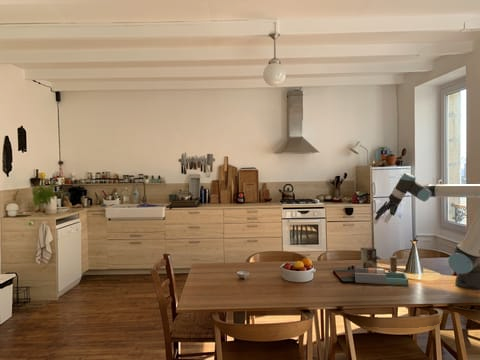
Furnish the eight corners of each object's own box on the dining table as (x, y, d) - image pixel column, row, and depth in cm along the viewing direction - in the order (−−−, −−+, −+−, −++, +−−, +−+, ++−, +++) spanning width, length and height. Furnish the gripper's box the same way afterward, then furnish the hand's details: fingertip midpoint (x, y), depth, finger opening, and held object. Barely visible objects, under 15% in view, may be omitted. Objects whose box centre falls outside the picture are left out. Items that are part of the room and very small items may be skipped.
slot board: (384, 277, 231) (384, 269, 231) (386, 284, 217) (386, 275, 217) (355, 276, 236) (354, 267, 236) (355, 282, 223) (355, 273, 223)
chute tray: (405, 278, 227) (405, 273, 227) (408, 285, 214) (408, 279, 214) (384, 277, 231) (384, 272, 231) (386, 284, 217) (386, 278, 217)
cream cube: (383, 275, 226) (383, 268, 226) (384, 276, 222) (383, 270, 222) (376, 274, 227) (376, 268, 227) (377, 276, 224) (376, 270, 224)
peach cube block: (375, 274, 228) (374, 268, 228) (375, 276, 224) (375, 269, 224) (368, 274, 229) (368, 267, 229) (368, 275, 225) (368, 269, 225)
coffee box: (374, 270, 248) (374, 247, 247) (377, 273, 241) (376, 249, 241) (361, 270, 249) (360, 247, 248) (363, 273, 242) (362, 249, 242)
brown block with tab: (395, 273, 239) (395, 255, 239) (397, 277, 231) (396, 258, 231) (390, 273, 240) (389, 255, 240) (391, 276, 232) (390, 258, 232)
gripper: (401, 192, 237) (385, 218, 245) (381, 192, 221) (364, 220, 230) (411, 198, 232) (394, 225, 240) (391, 199, 216) (373, 227, 225)
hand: (379, 222), depth 235 cm, fingers open, 13 cm apart
